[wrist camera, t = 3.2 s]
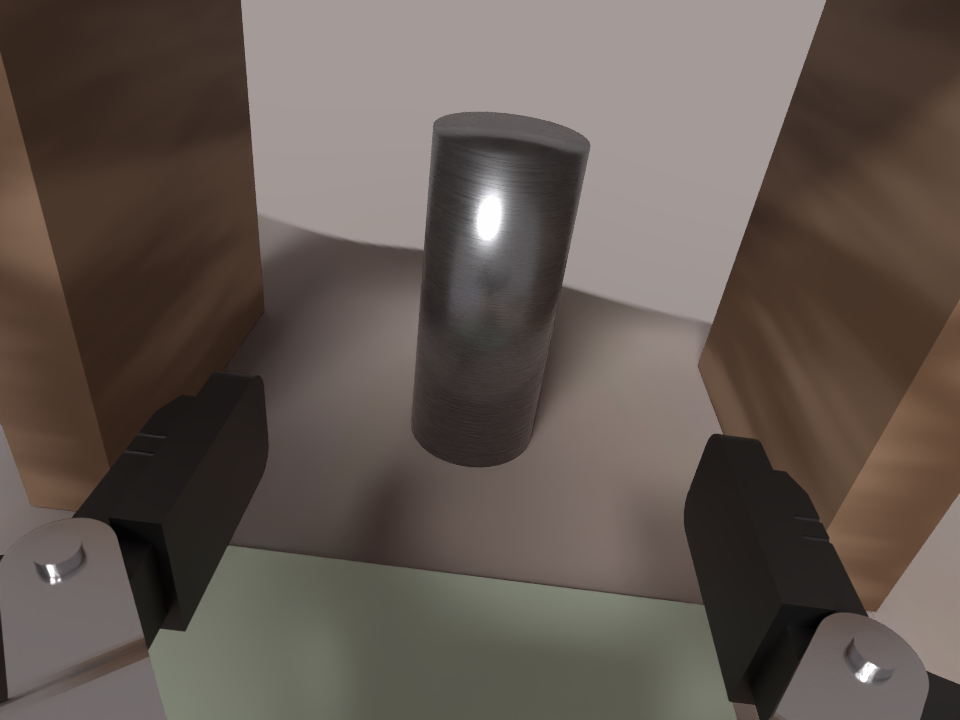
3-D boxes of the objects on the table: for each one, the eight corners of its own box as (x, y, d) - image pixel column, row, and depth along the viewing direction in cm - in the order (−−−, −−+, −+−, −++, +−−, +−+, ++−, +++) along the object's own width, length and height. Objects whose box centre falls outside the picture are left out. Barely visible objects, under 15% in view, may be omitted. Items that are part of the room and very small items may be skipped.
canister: (402, 457, 26) (422, 145, 19) (420, 382, 30) (442, 104, 23) (530, 474, 26) (596, 168, 19) (530, 397, 30) (584, 124, 23)
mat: (48, 844, 14) (42, 834, 14) (201, 552, 21) (199, 541, 21) (782, 933, 15) (790, 925, 14) (703, 615, 21) (707, 605, 21)
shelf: (11, 528, 21) (-442, -606, 9) (213, 293, 34) (141, -289, 22) (889, 638, 21) (1607, -322, 9) (751, 362, 35) (969, -178, 23)
